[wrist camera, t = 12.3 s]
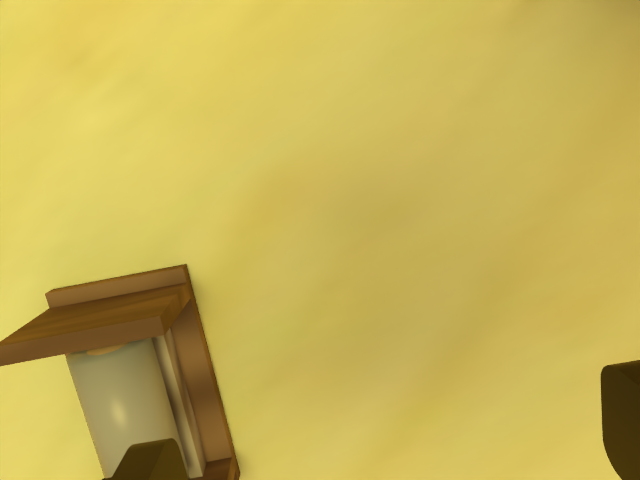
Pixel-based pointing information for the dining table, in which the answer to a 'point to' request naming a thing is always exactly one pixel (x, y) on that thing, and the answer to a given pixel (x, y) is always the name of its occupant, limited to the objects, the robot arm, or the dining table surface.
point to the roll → (122, 399)
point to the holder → (169, 343)
